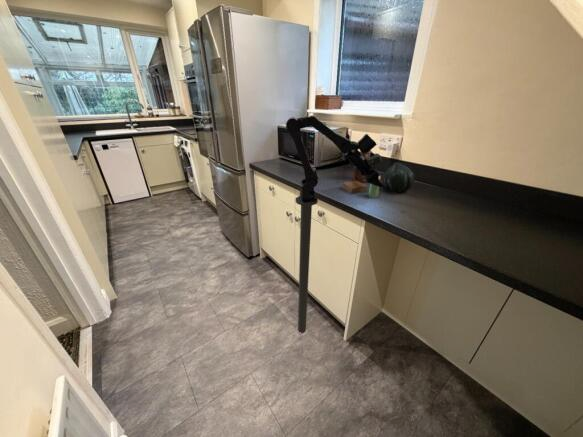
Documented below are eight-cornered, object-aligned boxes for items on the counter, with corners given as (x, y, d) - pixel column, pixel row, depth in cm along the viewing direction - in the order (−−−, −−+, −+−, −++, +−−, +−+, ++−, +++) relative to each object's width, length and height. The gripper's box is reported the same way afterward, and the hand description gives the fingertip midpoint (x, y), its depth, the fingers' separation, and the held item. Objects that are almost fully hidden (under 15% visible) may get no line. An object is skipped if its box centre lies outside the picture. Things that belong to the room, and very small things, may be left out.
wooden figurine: (360, 183, 133) (365, 151, 124) (351, 180, 137) (355, 149, 129) (372, 179, 139) (378, 148, 131) (364, 176, 144) (368, 146, 135)
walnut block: (351, 193, 119) (351, 188, 117) (342, 187, 126) (342, 182, 125) (366, 191, 121) (366, 186, 120) (356, 186, 129) (357, 180, 128)
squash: (424, 182, 119) (410, 156, 120) (407, 189, 111) (393, 161, 113) (401, 192, 131) (389, 169, 133) (385, 199, 124) (372, 174, 125)
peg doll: (372, 198, 114) (376, 175, 108) (366, 195, 117) (369, 173, 112) (379, 196, 115) (383, 174, 110) (373, 193, 119) (376, 171, 113)
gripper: (379, 152, 97) (399, 178, 102) (366, 144, 113) (384, 166, 119) (357, 171, 101) (378, 194, 106) (348, 160, 117) (367, 181, 122)
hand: (377, 183), depth 113 cm, fingers open, 9 cm apart
